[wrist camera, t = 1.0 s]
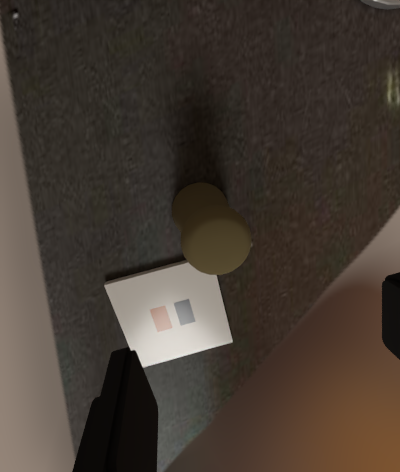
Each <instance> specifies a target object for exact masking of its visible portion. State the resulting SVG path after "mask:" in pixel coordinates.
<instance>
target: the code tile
mask: <svg viewBox="0 0 400 472" xmlns="http://www.w3.org/2000/svg"><path fill="white" fill-rule="evenodd" d="M104 286H105V289H106V291H107V293H108V296H109V298H110V301H111V303H112V306H113V308H114V310H115V313H116V315H117V318H118V320H119V323H120V325H121V328H122V330H123V332H124V335H125V337H126V340H127V342H128V345H129V347H130V349H131V351H132V350H135V351H136V352H137V355H138V357H139V360H140V362H141V365H142V367H147V366H150V365H154V364H157V363H161V362H164V361H168V360H171V359H175V358H178V357H182V356H185V355H189V354H193V353H196V352H200V351H203V350H207V349H210V348H214V347H217V346H221V345H224V344H228V343H231V342H233V341H232V337H231V333H230V329H229V325H228V320H227V316H226V312H225V308H224V304H223V300H222V296H221V292H220V288H219V283H218V279H217V275H209V274H205V273H202V272H200V271H198V270H197V269H195V268H194V267H193V266H191V265H190V263H189V262H188V261H187V260H184V261H181V262H177V263H173V264H169V265H166V266H162V267H158V268H155V269H151V270H147V271H144V272H140V273H136V274H133V275H129V276H125V277H122V278H118V279H114V280H110V281H107V282H105V285H104Z"/></svg>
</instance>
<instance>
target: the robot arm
mask: <svg viewBox="0 0 400 472" xmlns="http://www.w3.org/2000/svg"><path fill="white" fill-rule="evenodd" d="M361 1H362V2H363V3H365V4H367V5H370V6H372V7H375V8H381V9H395V8H400V0H361ZM382 340H383V342H384V344H385V346H386V347H387V348H388V349H389V350H390V351H391V352H392V353H393V354H394V355H395V356H396V357H397V358H399V359H400V272H399V273H396V274H392V275H388V276H387V277H386V278H385V281H383V283H382ZM157 441H158V406H157V402H156V399H155V397H154V395H153V392H152V390H151V387H150V385H149V382H148V380H147V377H146V375H145V372H144V370H143V367H142V365H141V362H140V360H139V357H138V355H137V352H136V351H135V350H132V351H131V350H130V348H129V347H127V348H123V349H120V350H116V351H113V352H112V353H111V356H110V360H109V364H108V368H107V372H106V376H105V380H104V384H103V388H102V392H101V395H100V397H97V398H95V399H94V400H93V402H92V404H91V407H90V411H89V415H88V418H87V422H86V425H85V429H84V432H83V436H82V439H81V443H80V446H79V450H78V454H77V457H76V461H75V464H74V468H73V471H72V472H157Z"/></svg>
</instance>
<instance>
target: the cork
mask: <svg viewBox="0 0 400 472" xmlns="http://www.w3.org/2000/svg"><path fill="white" fill-rule="evenodd" d="M172 217H173V220H174V223H175V225H176V226H177V227H178V229H179V230H180V232H181V247H182V251H183V254H184V257H185V258H186V259H187V261H188V262H189V263H190V265H191V266H193V267H194V268H195V269H197V270H198V271H200V272H202V273H205V274H209V275H222V274H225V273H229V272H231V271H233V270H234V269H236V268H237V267H239V266H240V265H241V264H242V263H243V261H244V260H245V259H246V257H247V255H248V253H249V251H250V248H251V240H252V239H251V234H250V229H249V226H248V224H247V222H246V221H245V219H244V218H243V217H242V216H241V215H240V214H239V213H237V212H236V211H235V210H234V209H232V208H230V207H229V205H228V202H227V200H226V198H225V196H224V194H223V193H222V192H221V191H220V190H219V189H218V188H217V187H216V186H213V185H211V184H208V183H199V182H197V183H194V184H190V185H188V186H186V187H185V188H183V189H182V190H181V191H180V192H179V193H178V194H177V196H176V197H175V199H174V202H173V205H172Z"/></svg>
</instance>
